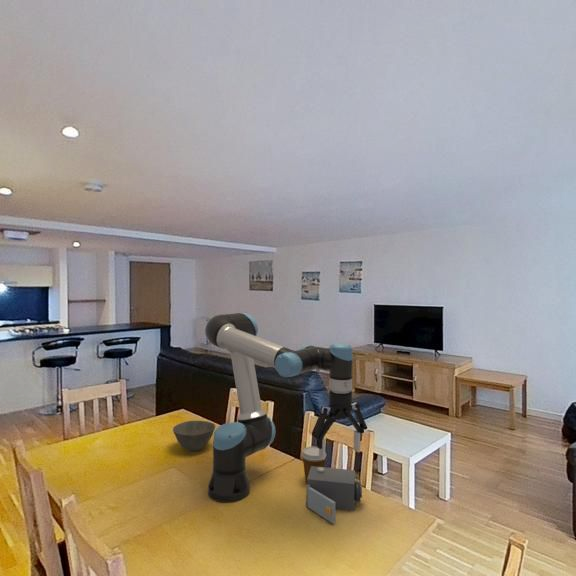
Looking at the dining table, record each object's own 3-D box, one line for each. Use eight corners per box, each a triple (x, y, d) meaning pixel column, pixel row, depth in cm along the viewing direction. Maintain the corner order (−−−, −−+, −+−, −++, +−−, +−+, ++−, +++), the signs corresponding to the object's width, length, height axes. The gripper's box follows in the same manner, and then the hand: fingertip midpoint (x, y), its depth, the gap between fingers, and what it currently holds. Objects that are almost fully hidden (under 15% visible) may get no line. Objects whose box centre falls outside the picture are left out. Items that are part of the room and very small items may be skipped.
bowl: (223, 446, 185) (223, 424, 185) (193, 461, 169) (193, 438, 169) (194, 437, 195) (194, 417, 195) (163, 451, 179) (164, 428, 179)
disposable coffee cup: (324, 489, 147) (325, 457, 147) (299, 487, 149) (299, 455, 148) (327, 477, 156) (327, 447, 156) (303, 475, 158) (303, 444, 158)
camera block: (306, 505, 136) (307, 476, 136) (310, 490, 146) (311, 463, 146) (361, 511, 133) (362, 481, 133) (361, 496, 143) (362, 468, 143)
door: (304, 506, 135) (304, 485, 135) (308, 505, 136) (308, 484, 136) (331, 525, 125) (331, 502, 125) (335, 523, 126) (335, 500, 126)
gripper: (312, 397, 123) (311, 466, 123) (378, 389, 134) (377, 452, 134) (301, 391, 130) (301, 456, 130) (364, 384, 140) (363, 444, 141)
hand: (339, 454), depth 132 cm, fingers open, 13 cm apart
